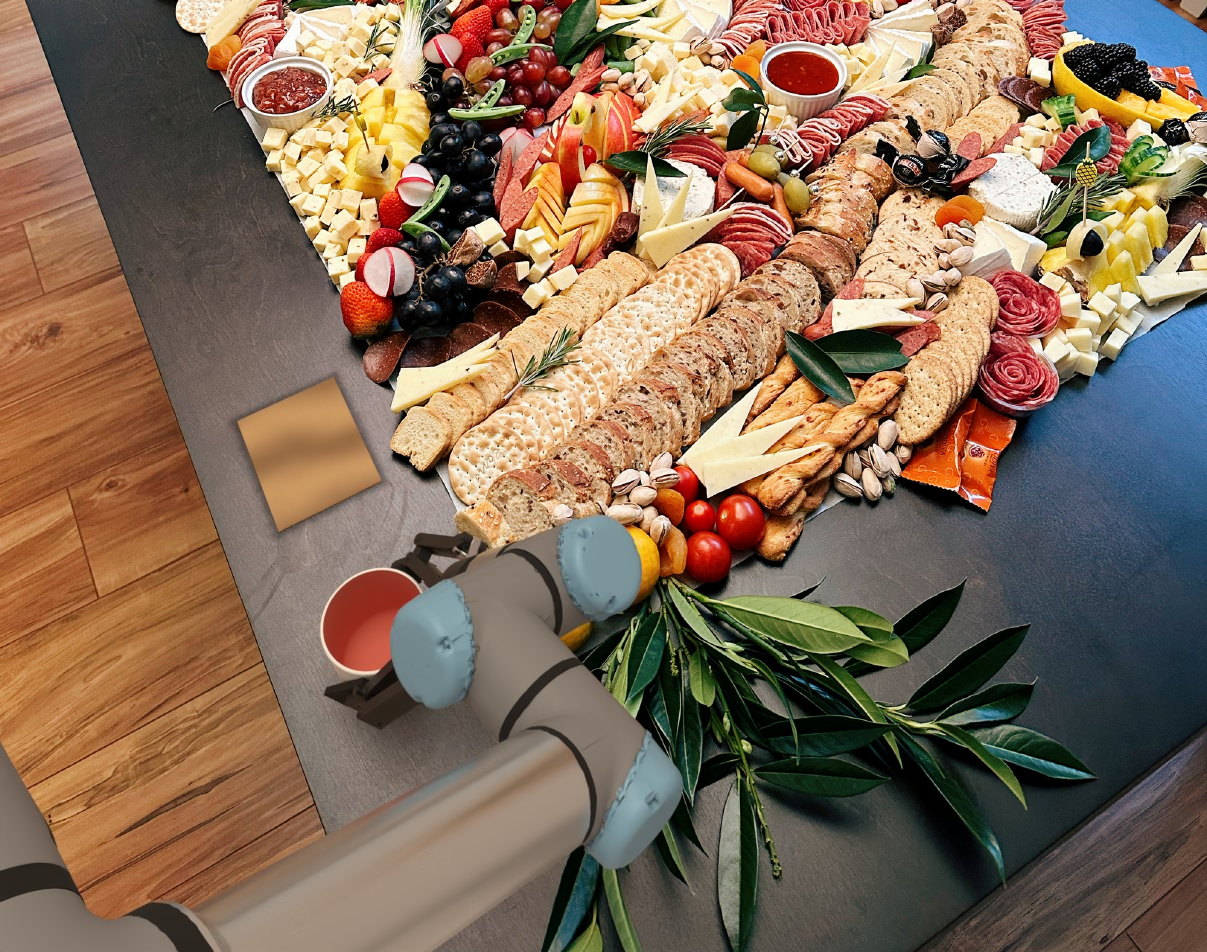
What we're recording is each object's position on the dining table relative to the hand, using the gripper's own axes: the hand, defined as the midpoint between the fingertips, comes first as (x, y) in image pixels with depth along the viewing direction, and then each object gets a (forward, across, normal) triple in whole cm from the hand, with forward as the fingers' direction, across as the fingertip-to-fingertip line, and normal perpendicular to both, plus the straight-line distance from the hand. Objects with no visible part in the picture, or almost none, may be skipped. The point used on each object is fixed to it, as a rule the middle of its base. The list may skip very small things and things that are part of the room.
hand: (356, 639), depth 111 cm
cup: (+1, 0, -5) cm, 5 cm away
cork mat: (+14, +21, +7) cm, 27 cm away
